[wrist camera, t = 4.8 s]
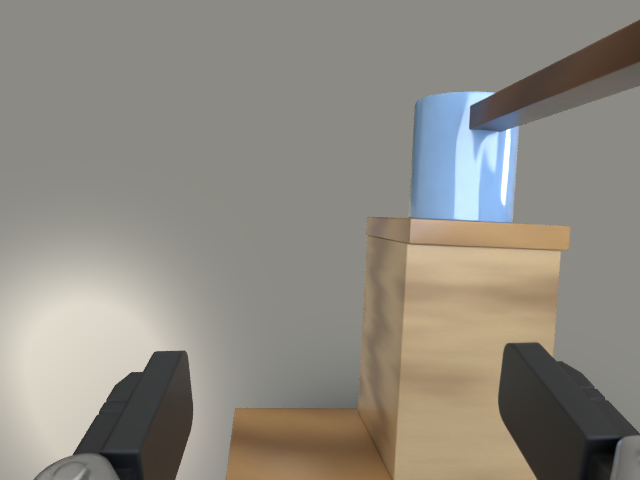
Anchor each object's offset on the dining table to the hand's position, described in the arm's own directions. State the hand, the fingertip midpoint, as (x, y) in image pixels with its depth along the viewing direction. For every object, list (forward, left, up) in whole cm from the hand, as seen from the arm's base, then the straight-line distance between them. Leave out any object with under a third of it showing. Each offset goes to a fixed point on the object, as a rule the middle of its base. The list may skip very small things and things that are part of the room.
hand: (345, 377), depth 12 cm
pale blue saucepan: (-12, -3, +4) cm, 13 cm away
